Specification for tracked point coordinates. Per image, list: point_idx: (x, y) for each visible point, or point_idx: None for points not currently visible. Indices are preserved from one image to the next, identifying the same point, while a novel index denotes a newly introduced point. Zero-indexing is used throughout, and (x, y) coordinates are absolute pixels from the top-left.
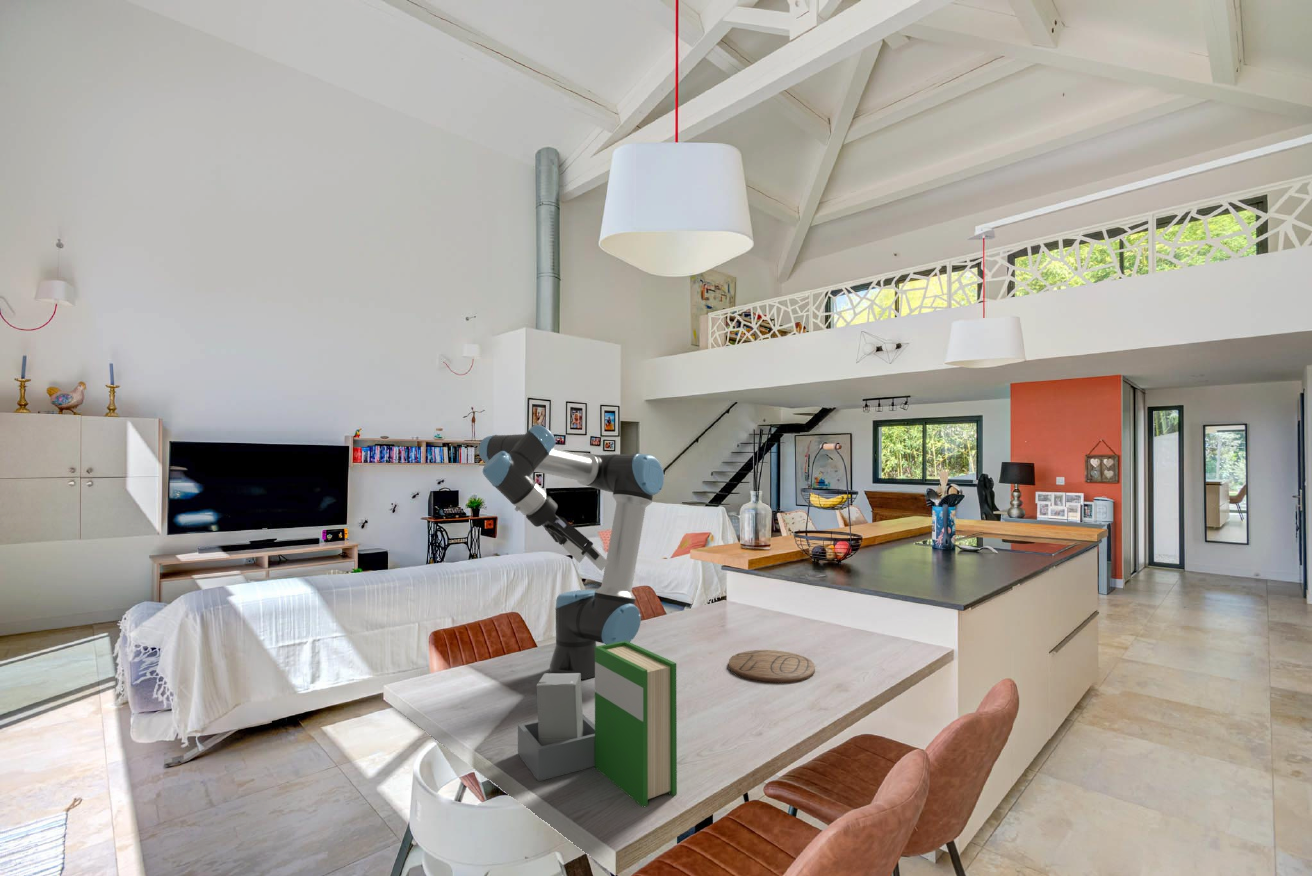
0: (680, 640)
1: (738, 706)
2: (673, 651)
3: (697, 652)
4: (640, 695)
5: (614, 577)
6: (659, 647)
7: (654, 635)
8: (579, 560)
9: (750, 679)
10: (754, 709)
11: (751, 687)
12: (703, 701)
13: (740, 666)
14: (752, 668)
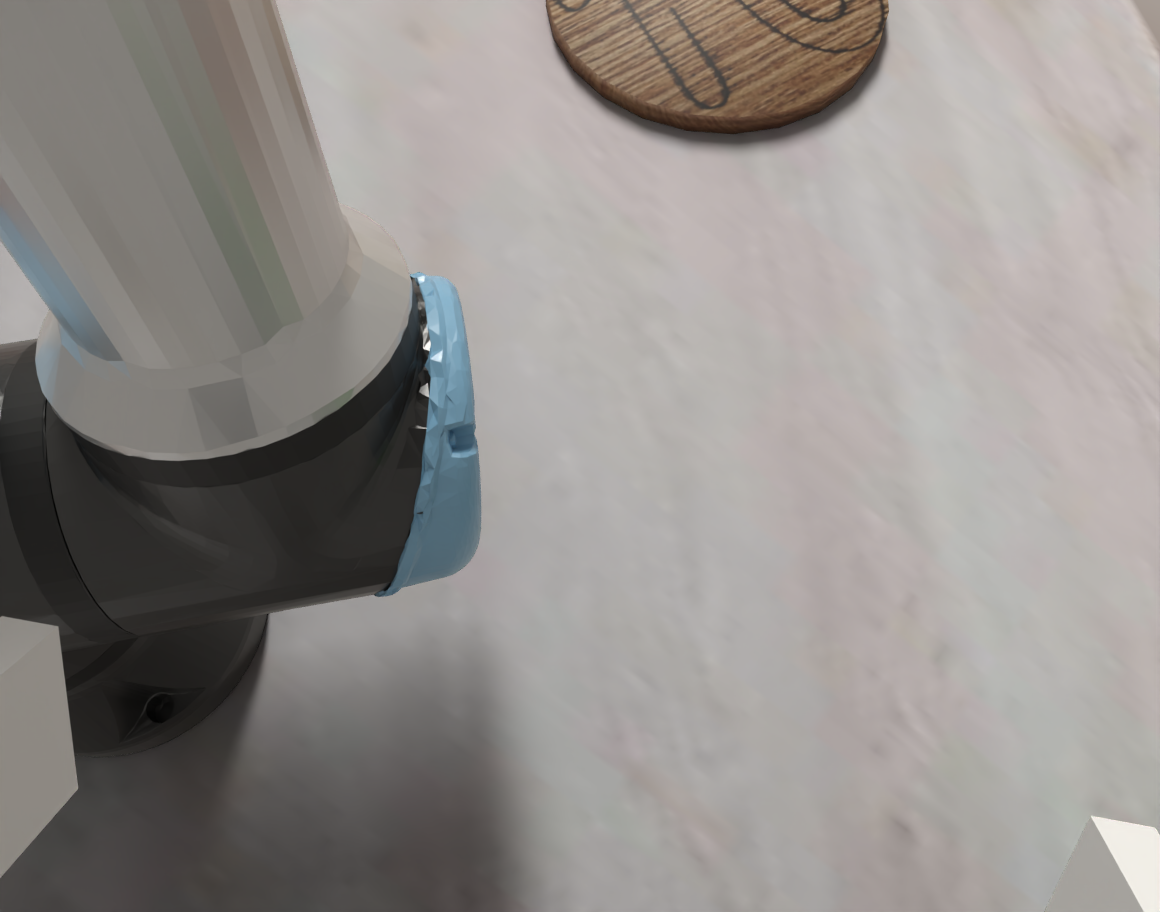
0: None
1: (950, 335)
2: None
3: (371, 63)
4: None
5: (233, 264)
6: None
7: None
8: (54, 792)
9: (762, 127)
10: (1006, 313)
11: (825, 177)
12: (832, 399)
13: (671, 80)
14: (719, 65)
